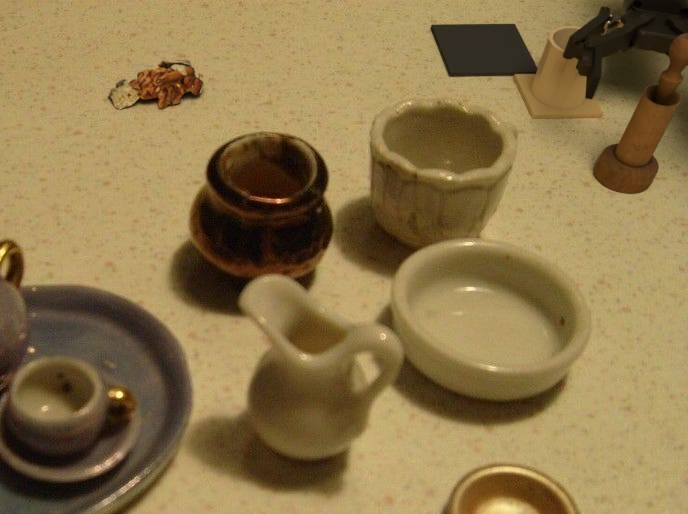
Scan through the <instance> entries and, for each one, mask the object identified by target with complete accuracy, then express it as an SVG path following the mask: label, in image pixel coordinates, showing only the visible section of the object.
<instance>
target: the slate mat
mask: <svg viewBox="0 0 688 514" xmlns="http://www.w3.org/2000/svg"><path fill="white" fill-rule="evenodd" d="M430 25H431V26H430V29H431V30H430V31H431V33H432V36H433V38H434V41H435V43H436V45H437V48H438V51H439V54H440V56H441V58H442V61H443V63H444V66H445V68H446V69H445V70H446V71H447V73H448V76H449V77H508V76H509V77H512V76H513V77H514V75H515V74H535V73H536V70H537V67H538V65H537V64H536V62H535V61H534V58H533V56H532V55H531V53H530V50H529V49H528V47H527V44H526V43H525V41H524V39H523V37H522V35H521V32H520V31H519V29H518V27H517V25H516V23H459V24H458V23H452V24H448V23H447V24H445V23H444V24H443V23H442V24H439V23H438V24H430Z"/></svg>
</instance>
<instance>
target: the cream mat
mask: <svg viewBox="0 0 688 514" xmlns="http://www.w3.org/2000/svg"><path fill="white" fill-rule="evenodd" d="M534 76H535V74H515V75H514V76H513V80H514V82H515V84H516V86H517V88H518V89H517V90H518V91H519V93H520V95H521V98H522V99H523V101H524V104H525V105H526V107H527V110H528V112H529V114H530V116H531V118H532V119H578V118H579V119H581V118H582V119H583V118H584V119H585V118H587V119H588V118H592V119H593V118H603V116H604V112H603V110H602V108H601V106H600V105H599V102H598V101H597V99H596V97H595V95H594V96H593V99H586V101H585V103H584V104H583V105H581V106H580V107H577V108H574V109H557V108H552V107H549V106H547V105H544V104H542V103H541V102H539V101H538V100H536V99H535V98H534V97H533V95H532V93H531V85H532V81H533V79H534Z"/></svg>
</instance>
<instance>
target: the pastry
mask: <svg viewBox="0 0 688 514" xmlns="http://www.w3.org/2000/svg"><path fill="white" fill-rule="evenodd" d="M174 65H177V66H178V67H176V68H175V69H174V68H173V66H174ZM197 75H198V76H197ZM197 75H196V69H195V67H193V66H192V62H191V60H189V59H188V58H184V59H175V60H169V59H165V60H161V62H159V63H158V64H157V68H155V69H152V68H151V69H144V70H141V71H139V72H138V73H137V75H136V78H135V79H133V78H132V80H130V81H129V82H128V81H127V80H126V79H125V78H124V79H121V80H120V79H119V80H117V81H116V82H115V88H114V87H113V88H111V89H110V91H109V93H108V94H107V97H109V98H110V100H111V101H112V103H113V105H114V107H115V108H116V109H118V110H122V109H123V108H126V107H130V106H133V105H134V104H135V103H136V102H137V101H138V100H140V99H142V100H151V99H155V98H158V100H157V103H158V108H159V110H165V109H166V108H167V106H169V105H171V106H174V105H177V104H180V103H181V102H182V98H183V96H184V95H185V94H186V93H188V92H191V93H192V94H193V95H194V96H196V95H199V94H201V93H202V91H203V89H204V87H205V83H204V80H202V78H204V76H203V74H202V73H197ZM200 78H201V79H200Z"/></svg>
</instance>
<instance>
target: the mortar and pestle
mask: <svg viewBox="0 0 688 514" xmlns="http://www.w3.org/2000/svg"><path fill="white" fill-rule="evenodd" d="M668 58H669V65H668V66H667V68H666V69H664V70H662V71H661V72H660V74H659V78H658V82H657V84H650V85H648V86H646V87H645V88H644V90H643V92H642V94H641V96H640V98H639V101H638V103H637V105H636V107H635V109H634V110H633V112H632V116H631V117H630V119H629V122H628V123H627V125H626V128H625V130H624V131H623V134H622V135H621V136H620V137H621V138H620V140H619V141H618V142H617V143H613V144H610V145H608V146H606V147H604V148H603V150H602V151H601V153H600V155H599V157H598V159H597V160H596V163H595V164H594V168H593V173H594V176H595V178H596V179H597V180H598V182H600V183H601V185H603V186H604V187H606V188H607V189H609V190H612V191H614V192H619V193H623V194H638V193H642V192H645V191H646V190H648V189H649V188H650V187H651V185H652V184H653V181H654V179H655V178H656V176H657V174H658V172H659V168H660V165H659V162H658V159H657V158H656V157H655V156H654V153H655V151H656V150H657V148H658V145H659V143H660V142H661V140H662V138H663V136H664V134H665V133H666V130H667V128H668V127H669V125H670V123H671V121H672V119H673V117H674V115H675V113H676V112H677V110H678V108H679V106H680V104H681V102H682V96H681V94H680V93H679V92H678V91H677V90H676V89H678V87H680V85H681V84H682V82H683V81H684V75H683V74H682V73H683V70H684V69H685V68H686V67H688V33H685V34H681V35H679V36H678V37H676V38H675V39H674V40H673V41H672V43H671V45H670V47H669V57H668Z"/></svg>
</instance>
